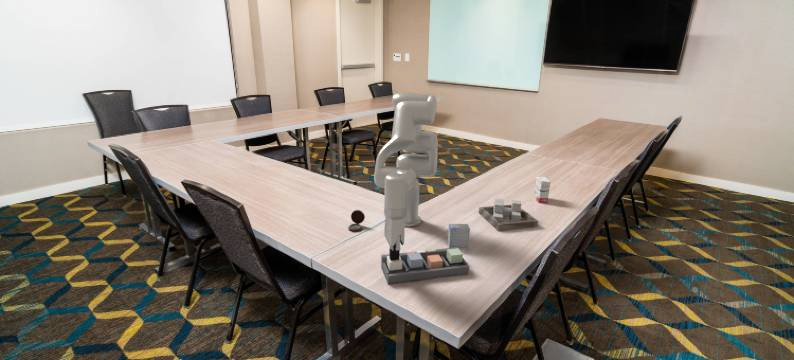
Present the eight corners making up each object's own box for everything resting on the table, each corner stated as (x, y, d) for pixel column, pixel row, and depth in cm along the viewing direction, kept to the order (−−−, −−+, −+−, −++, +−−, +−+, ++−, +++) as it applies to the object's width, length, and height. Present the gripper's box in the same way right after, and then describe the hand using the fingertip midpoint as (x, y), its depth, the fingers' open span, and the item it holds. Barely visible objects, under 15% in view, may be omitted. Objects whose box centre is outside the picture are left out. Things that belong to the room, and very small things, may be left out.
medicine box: (466, 242, 165) (468, 223, 162) (468, 247, 161) (470, 228, 158) (447, 242, 165) (448, 223, 162) (448, 247, 161) (450, 228, 158)
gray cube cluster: (493, 224, 183) (495, 208, 180) (493, 213, 194) (494, 198, 191) (520, 227, 181) (522, 210, 178) (518, 216, 192) (520, 200, 189)
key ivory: (386, 264, 142) (386, 256, 141) (398, 262, 143) (399, 254, 142) (389, 270, 138) (389, 262, 137) (401, 269, 139) (402, 261, 138)
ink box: (547, 203, 208) (551, 181, 204) (538, 203, 208) (541, 181, 204) (542, 197, 216) (545, 176, 212) (533, 196, 216) (536, 176, 212)
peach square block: (426, 263, 146) (427, 255, 145) (438, 262, 147) (438, 254, 146) (430, 269, 142) (431, 262, 141) (442, 268, 143) (442, 260, 142)
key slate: (407, 261, 144) (407, 253, 143) (418, 260, 145) (419, 252, 144) (410, 268, 140) (410, 260, 139) (422, 266, 141) (422, 258, 140)
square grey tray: (478, 213, 194) (479, 207, 193) (515, 209, 198) (515, 204, 197) (497, 231, 176) (498, 224, 175) (537, 227, 181) (538, 220, 180)
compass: (346, 231, 172) (346, 216, 170) (351, 223, 180) (351, 208, 177) (364, 233, 171) (364, 218, 169) (369, 225, 178) (369, 210, 176)
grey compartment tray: (381, 267, 146) (381, 254, 144) (456, 258, 153) (457, 246, 151) (387, 284, 136) (388, 270, 134) (468, 274, 143) (469, 261, 141)
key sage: (446, 257, 147) (446, 249, 146) (457, 255, 149) (458, 248, 147) (450, 263, 143) (451, 255, 142) (462, 262, 144) (462, 254, 143)
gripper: (379, 202, 139) (379, 249, 145) (389, 220, 126) (388, 271, 131) (400, 201, 141) (399, 247, 147) (412, 218, 127) (410, 269, 133)
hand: (394, 258), depth 139 cm, fingers closed
